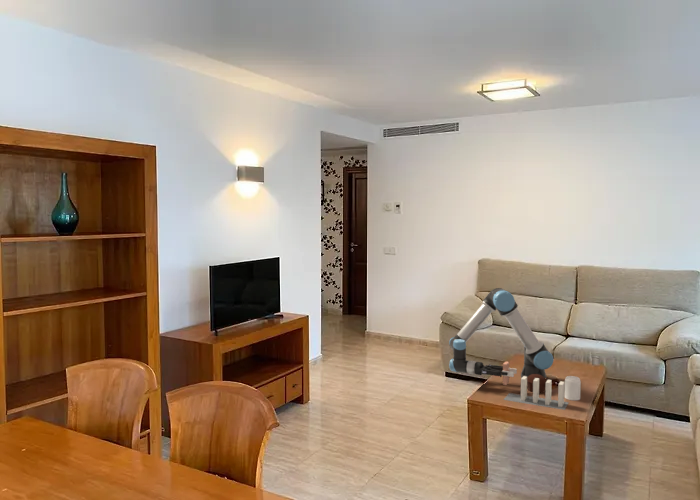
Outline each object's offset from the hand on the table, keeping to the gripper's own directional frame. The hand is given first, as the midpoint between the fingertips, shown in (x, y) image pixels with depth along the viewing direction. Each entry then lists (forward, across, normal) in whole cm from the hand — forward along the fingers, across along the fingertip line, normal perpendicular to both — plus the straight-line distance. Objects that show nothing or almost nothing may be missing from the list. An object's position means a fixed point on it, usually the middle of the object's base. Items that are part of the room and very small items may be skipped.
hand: (515, 372), depth 314 cm
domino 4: (+20, +9, -12) cm, 25 cm away
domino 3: (+13, +9, -12) cm, 20 cm away
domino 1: (-5, 0, -7) cm, 9 cm away
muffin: (+10, -9, -12) cm, 18 cm away
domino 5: (+26, +9, -12) cm, 30 cm away
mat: (+13, +9, -12) cm, 20 cm away
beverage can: (+30, -6, -13) cm, 33 cm away
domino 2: (+7, +9, -11) cm, 16 cm away
